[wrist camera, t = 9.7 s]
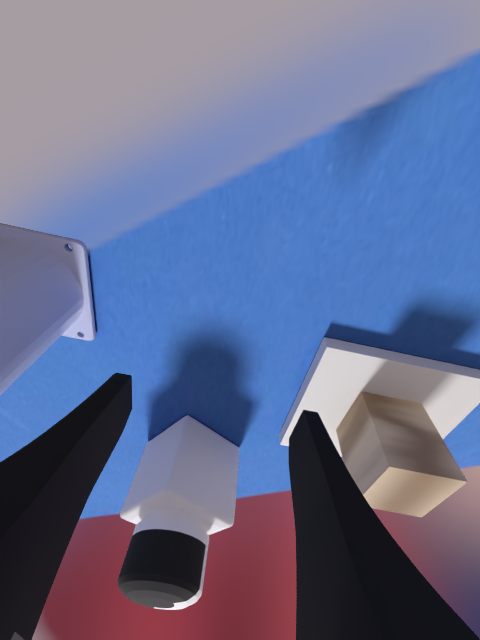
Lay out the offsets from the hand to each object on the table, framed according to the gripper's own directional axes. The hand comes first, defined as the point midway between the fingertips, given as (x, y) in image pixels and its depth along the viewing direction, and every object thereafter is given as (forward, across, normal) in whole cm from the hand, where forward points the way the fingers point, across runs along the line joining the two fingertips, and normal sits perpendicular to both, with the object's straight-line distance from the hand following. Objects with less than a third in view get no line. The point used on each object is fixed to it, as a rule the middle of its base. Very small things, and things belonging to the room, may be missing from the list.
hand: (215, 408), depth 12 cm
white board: (+9, -14, +8) cm, 18 cm away
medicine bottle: (+10, +1, +18) cm, 20 cm away
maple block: (+8, -14, +7) cm, 17 cm away
